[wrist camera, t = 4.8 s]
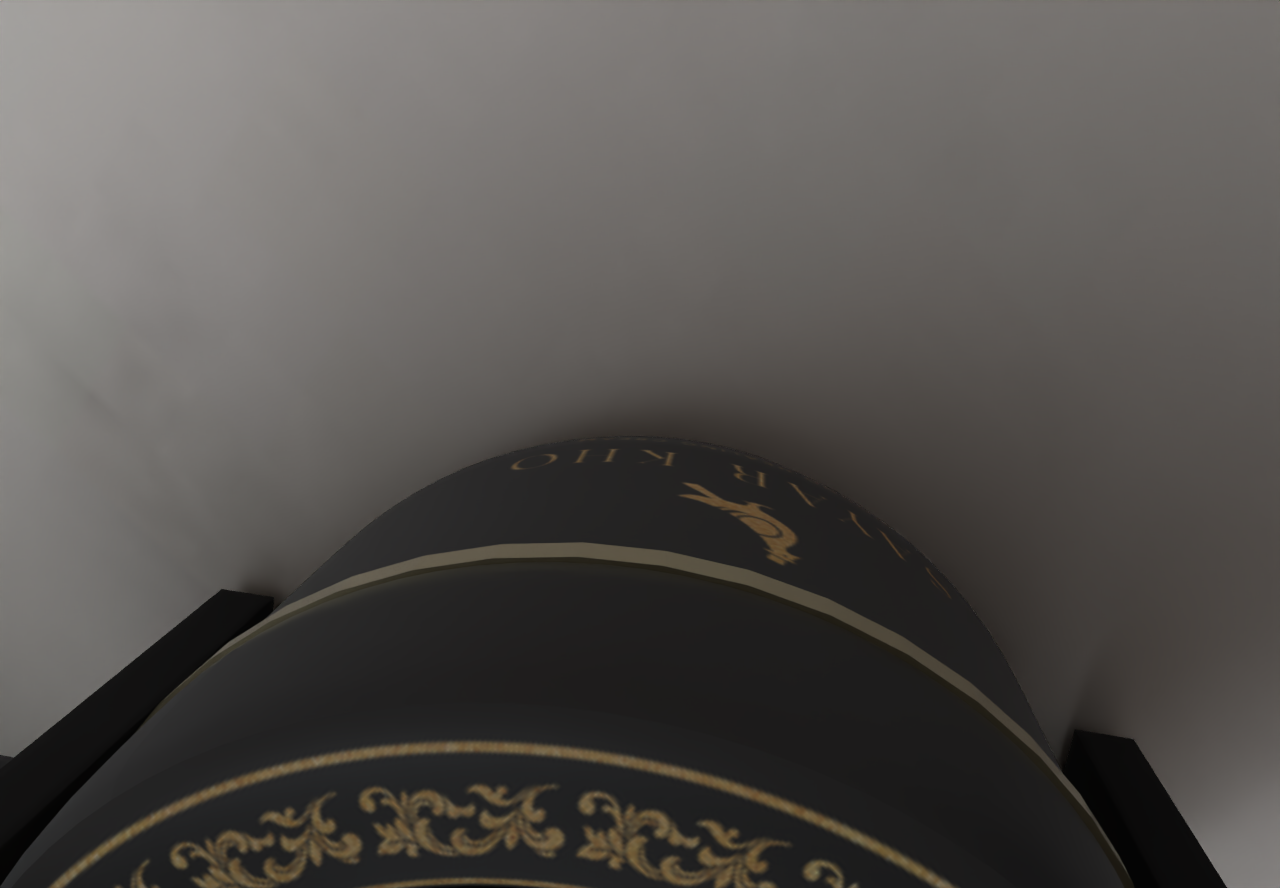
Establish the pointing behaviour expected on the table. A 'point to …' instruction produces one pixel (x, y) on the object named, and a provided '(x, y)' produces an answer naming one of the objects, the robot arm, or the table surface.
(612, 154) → the table surface
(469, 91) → the table surface
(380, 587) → the jar
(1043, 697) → the table surface
